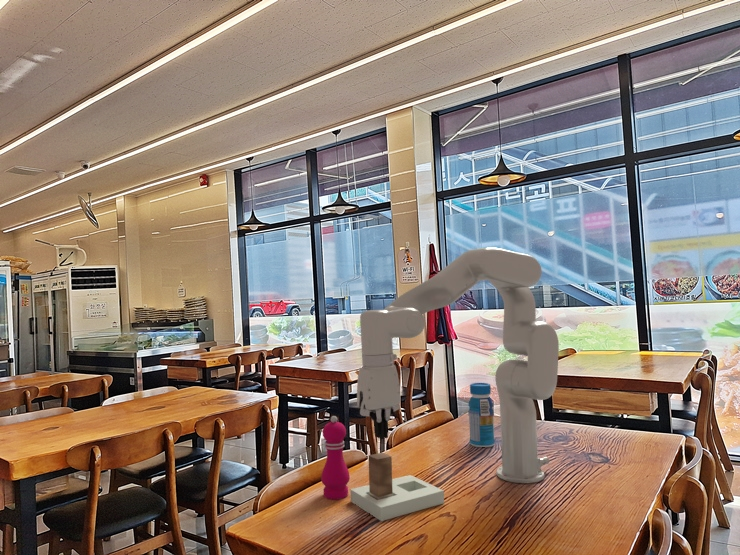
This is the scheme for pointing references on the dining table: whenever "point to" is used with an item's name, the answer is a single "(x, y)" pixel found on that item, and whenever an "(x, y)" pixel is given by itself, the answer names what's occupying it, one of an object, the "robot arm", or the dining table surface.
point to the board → (399, 498)
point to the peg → (380, 476)
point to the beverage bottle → (481, 415)
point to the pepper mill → (335, 461)
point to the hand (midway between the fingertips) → (381, 437)
